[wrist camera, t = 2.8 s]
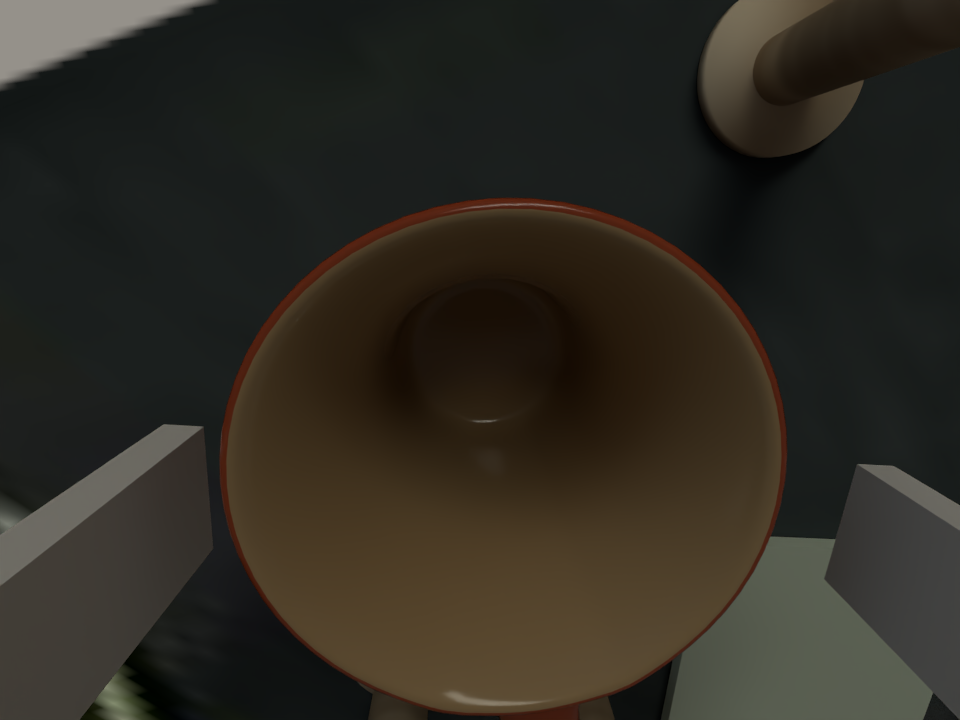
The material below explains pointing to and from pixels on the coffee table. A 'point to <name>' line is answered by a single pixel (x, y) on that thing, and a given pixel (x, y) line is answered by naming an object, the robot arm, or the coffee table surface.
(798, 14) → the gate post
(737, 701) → the pad
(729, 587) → the mug
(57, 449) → the coffee table surface
